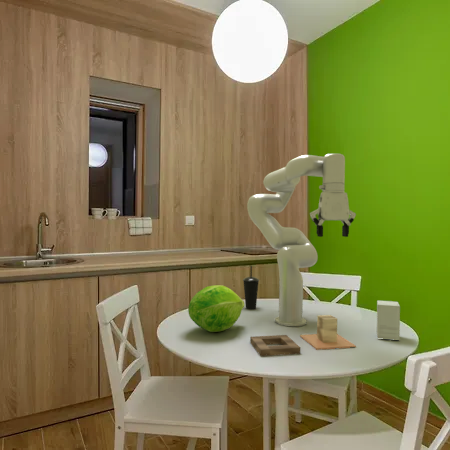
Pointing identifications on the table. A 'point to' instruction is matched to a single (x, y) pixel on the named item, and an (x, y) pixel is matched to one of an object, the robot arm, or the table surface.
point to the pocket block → (284, 349)
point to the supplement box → (388, 320)
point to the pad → (331, 345)
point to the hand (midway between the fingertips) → (332, 236)
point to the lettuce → (215, 308)
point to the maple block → (327, 328)
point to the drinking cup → (250, 291)
